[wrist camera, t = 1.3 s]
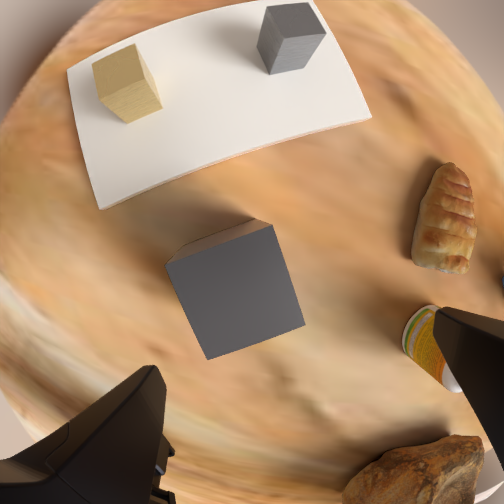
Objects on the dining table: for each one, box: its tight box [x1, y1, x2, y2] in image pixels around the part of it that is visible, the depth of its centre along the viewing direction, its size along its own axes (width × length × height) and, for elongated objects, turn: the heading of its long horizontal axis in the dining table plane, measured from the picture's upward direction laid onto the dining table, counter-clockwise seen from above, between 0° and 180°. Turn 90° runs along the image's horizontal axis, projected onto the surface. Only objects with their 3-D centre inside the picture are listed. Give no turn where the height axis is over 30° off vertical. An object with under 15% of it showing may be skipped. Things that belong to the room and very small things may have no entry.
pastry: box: [411, 162, 477, 274], centre depth 19 cm, size 9×7×4 cm
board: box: [67, 0, 372, 210], centre depth 17 cm, size 20×12×1 cm, turn 110°
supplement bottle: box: [402, 305, 462, 393], centre depth 18 cm, size 5×5×10 cm
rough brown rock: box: [342, 434, 484, 504], centre depth 20 cm, size 23×17×15 cm
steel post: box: [256, 2, 327, 75], centre depth 14 cm, size 3×3×5 cm
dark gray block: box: [165, 219, 305, 360], centre depth 17 cm, size 5×5×7 cm
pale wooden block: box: [92, 43, 163, 124], centre depth 14 cm, size 3×3×5 cm
